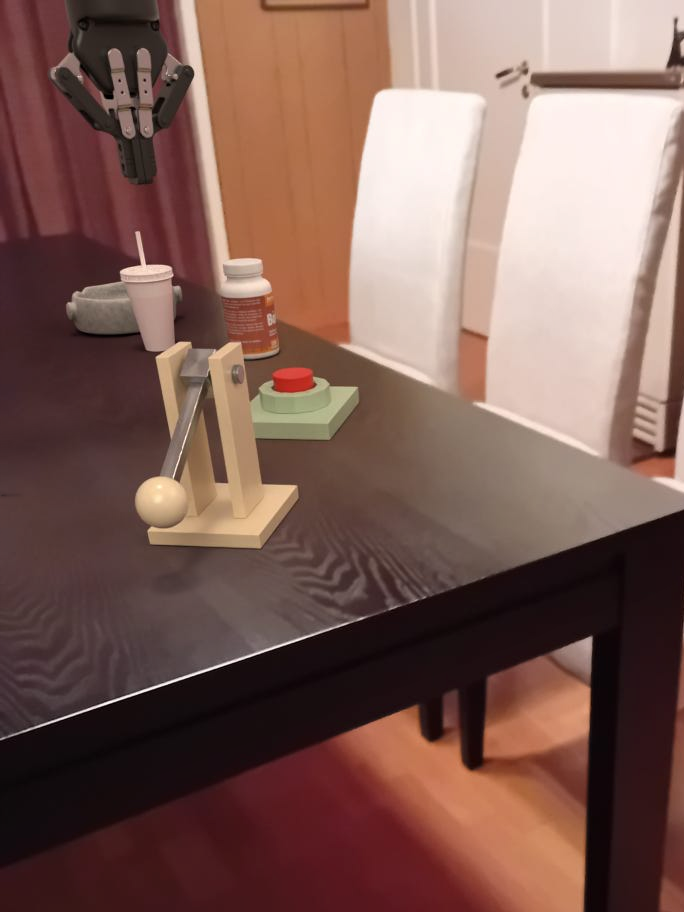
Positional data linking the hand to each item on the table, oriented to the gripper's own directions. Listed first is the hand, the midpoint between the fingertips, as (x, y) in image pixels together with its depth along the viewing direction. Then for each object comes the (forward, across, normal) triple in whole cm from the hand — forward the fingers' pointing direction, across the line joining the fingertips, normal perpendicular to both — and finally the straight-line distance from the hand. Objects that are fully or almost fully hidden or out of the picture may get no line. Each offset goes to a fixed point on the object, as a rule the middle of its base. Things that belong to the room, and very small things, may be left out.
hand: (140, 183), depth 92 cm
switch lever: (+15, +12, +29) cm, 35 cm away
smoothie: (+23, -12, -30) cm, 40 cm away
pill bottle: (+22, -19, -19) cm, 35 cm away
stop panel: (+22, -10, +8) cm, 25 cm away
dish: (+23, -14, -46) cm, 53 cm away
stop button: (+19, -9, +7) cm, 23 cm away
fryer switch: (+23, +8, +26) cm, 35 cm away
